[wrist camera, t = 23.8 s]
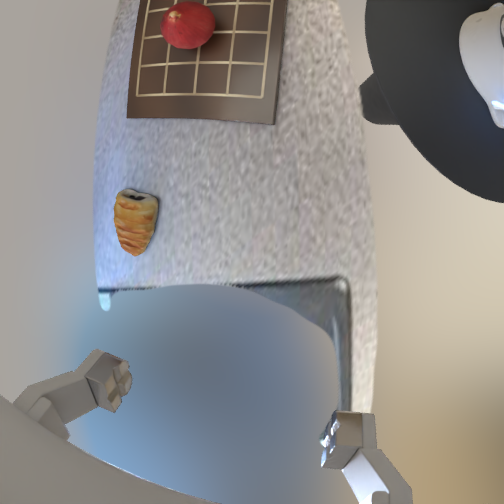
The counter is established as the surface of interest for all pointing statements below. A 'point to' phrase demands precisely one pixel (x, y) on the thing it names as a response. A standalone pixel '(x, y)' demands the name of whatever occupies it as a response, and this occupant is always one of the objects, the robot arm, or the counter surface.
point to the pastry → (135, 220)
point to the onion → (187, 25)
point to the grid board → (210, 64)
